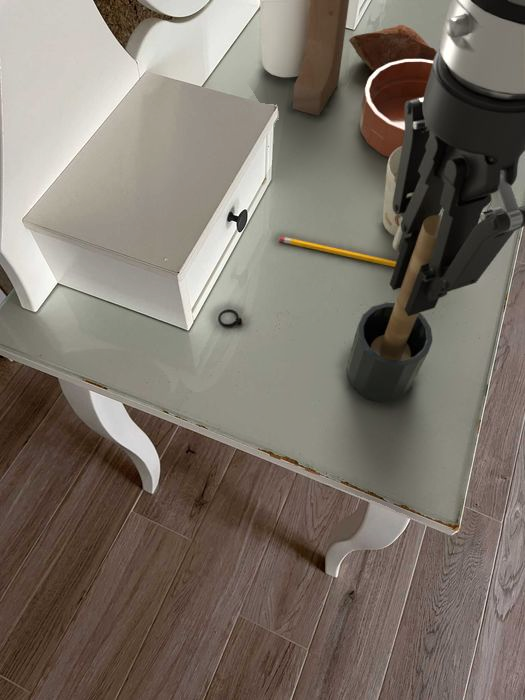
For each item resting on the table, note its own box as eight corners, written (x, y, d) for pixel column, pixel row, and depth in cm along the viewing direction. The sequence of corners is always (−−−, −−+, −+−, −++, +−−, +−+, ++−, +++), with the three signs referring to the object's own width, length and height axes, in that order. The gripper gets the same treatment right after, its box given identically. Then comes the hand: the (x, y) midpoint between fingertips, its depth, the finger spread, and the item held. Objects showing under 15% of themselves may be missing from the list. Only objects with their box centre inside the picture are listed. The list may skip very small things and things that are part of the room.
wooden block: (319, 117, 90) (331, -2, 74) (292, 109, 91) (298, -10, 75) (338, 83, 94) (354, -37, 78) (312, 76, 95) (323, -44, 79)
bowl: (488, 151, 86) (502, 117, 81) (388, 179, 83) (396, 145, 78) (435, 84, 94) (445, 49, 89) (341, 107, 91) (346, 72, 86)
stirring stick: (416, 366, 63) (477, 238, 45) (379, 378, 63) (426, 254, 45) (397, 334, 66) (449, 199, 47) (362, 345, 65) (400, 213, 47)
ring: (215, 324, 72) (236, 332, 71) (214, 319, 71) (235, 327, 70) (225, 310, 73) (246, 317, 72) (223, 305, 72) (245, 312, 71)
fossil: (450, 53, 92) (429, 5, 84) (424, 99, 92) (400, 56, 84) (386, 48, 100) (361, 4, 92) (362, 90, 100) (335, 50, 93)
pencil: (280, 238, 78) (280, 235, 78) (423, 269, 76) (424, 266, 75) (279, 242, 78) (279, 239, 77) (422, 274, 75) (424, 271, 75)
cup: (291, 92, 93) (296, 2, 80) (249, 72, 95) (248, -19, 83) (321, 65, 96) (330, -25, 84) (280, 46, 98) (283, -44, 86)
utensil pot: (423, 390, 67) (445, 351, 59) (363, 411, 66) (377, 374, 58) (394, 336, 70) (411, 294, 63) (336, 355, 69) (346, 314, 61)
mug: (440, 207, 81) (461, 150, 72) (424, 277, 75) (446, 224, 66) (381, 194, 82) (395, 136, 73) (361, 261, 76) (374, 207, 67)
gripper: (383, 2, 37) (341, 245, 57) (518, 166, 30) (414, 377, 50) (487, -20, 38) (409, 225, 58) (640, 131, 31) (490, 351, 51)
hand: (411, 295), depth 54 cm, fingers closed on stirring stick, 2 cm apart
